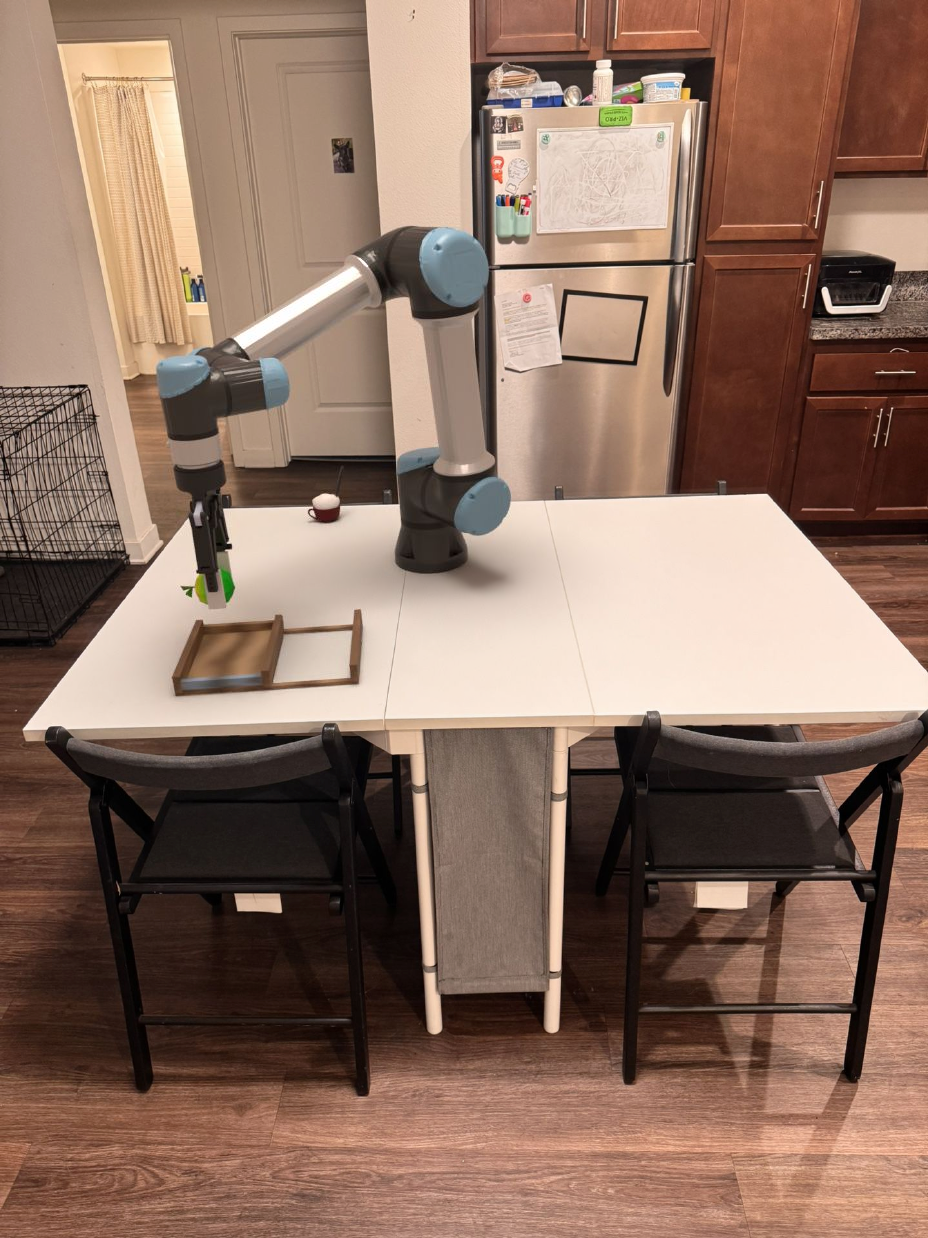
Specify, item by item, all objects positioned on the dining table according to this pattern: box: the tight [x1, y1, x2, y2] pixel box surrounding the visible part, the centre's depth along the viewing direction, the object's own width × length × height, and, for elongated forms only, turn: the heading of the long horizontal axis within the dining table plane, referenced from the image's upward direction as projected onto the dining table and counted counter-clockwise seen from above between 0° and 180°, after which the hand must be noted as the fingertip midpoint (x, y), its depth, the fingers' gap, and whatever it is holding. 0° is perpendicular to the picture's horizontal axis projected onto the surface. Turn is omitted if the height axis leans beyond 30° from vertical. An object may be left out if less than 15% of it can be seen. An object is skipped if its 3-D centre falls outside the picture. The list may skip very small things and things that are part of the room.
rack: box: [171, 608, 364, 697], centre depth 157 cm, size 29×20×4 cm
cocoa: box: [307, 465, 345, 523], centre depth 214 cm, size 10×6×12 cm, turn 91°
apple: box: [180, 568, 236, 606], centre depth 151 cm, size 7×6×9 cm
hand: (221, 597), depth 152 cm, fingers closed on apple, 7 cm apart
